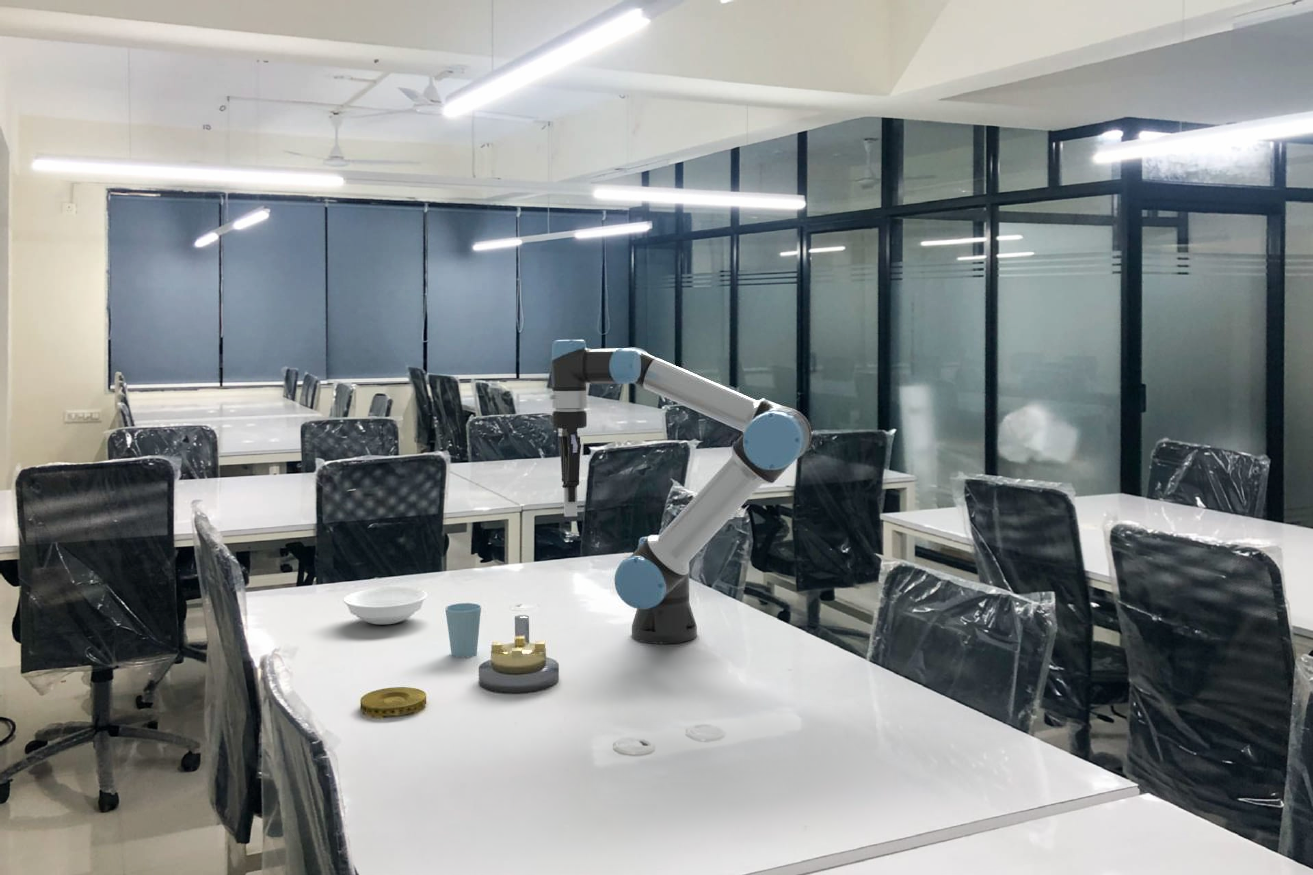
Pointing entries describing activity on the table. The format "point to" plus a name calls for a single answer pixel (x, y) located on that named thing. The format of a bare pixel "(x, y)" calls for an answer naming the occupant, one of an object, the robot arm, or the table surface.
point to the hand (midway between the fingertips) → (570, 515)
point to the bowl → (385, 604)
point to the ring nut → (519, 651)
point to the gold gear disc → (393, 702)
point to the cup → (463, 628)
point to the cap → (518, 679)
